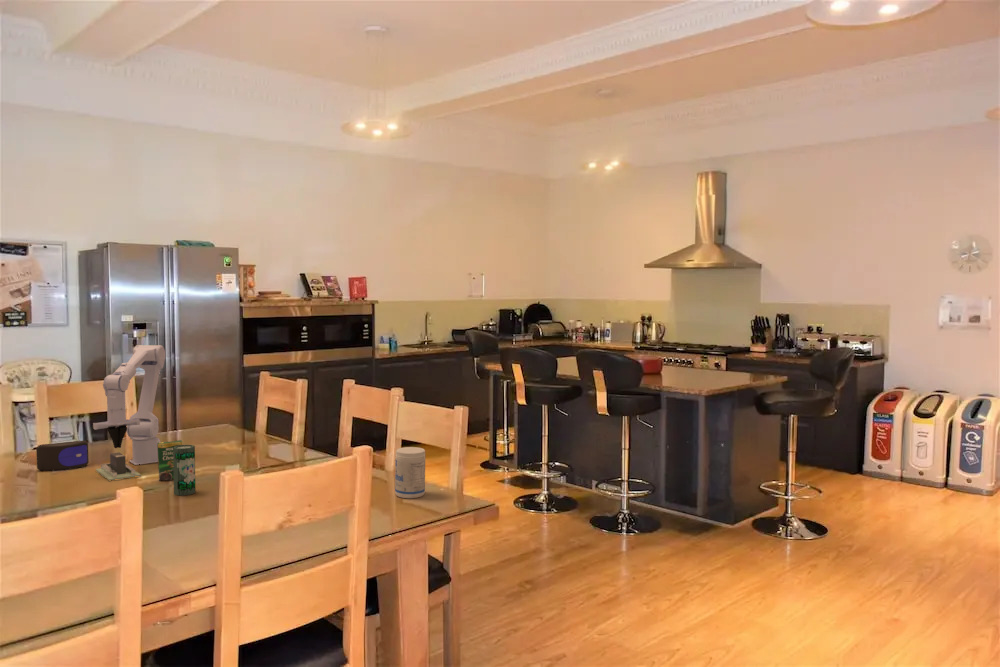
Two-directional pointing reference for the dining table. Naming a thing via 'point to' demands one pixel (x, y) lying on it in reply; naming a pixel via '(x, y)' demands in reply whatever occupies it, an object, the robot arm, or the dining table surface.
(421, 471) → the supplement tub
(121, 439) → the robot arm
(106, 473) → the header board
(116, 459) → the brown block
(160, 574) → the dining table surface
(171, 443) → the coffee box
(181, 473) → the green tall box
